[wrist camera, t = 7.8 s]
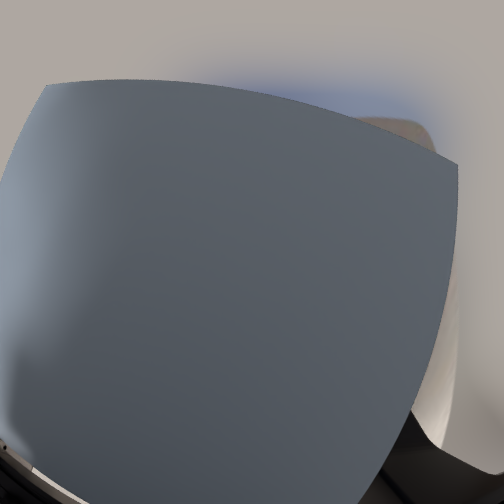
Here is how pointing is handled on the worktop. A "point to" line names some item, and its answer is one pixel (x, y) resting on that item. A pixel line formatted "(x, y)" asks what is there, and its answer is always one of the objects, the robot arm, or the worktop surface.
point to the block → (215, 293)
